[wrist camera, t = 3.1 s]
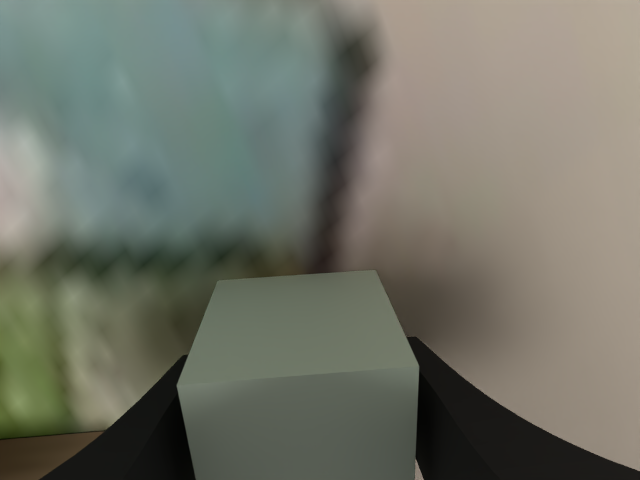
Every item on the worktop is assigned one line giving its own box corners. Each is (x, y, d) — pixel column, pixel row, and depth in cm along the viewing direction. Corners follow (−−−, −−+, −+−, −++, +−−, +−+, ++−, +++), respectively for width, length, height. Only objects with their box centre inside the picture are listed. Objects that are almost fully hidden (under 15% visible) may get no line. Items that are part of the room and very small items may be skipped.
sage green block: (374, 268, 13) (418, 366, 9) (375, 394, 15) (412, 532, 10) (218, 279, 13) (176, 385, 8) (236, 405, 15) (210, 552, 10)
